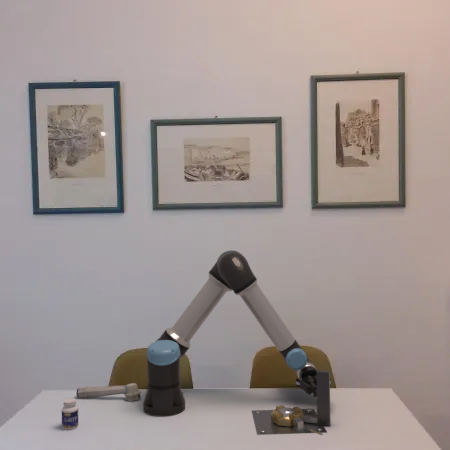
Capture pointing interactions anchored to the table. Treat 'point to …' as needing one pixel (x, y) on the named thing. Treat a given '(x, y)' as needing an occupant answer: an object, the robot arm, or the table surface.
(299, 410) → the grey and tan piece
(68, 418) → the pill bottle
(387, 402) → the table surface
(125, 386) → the grey elongated piece
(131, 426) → the table surface
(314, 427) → the flange
